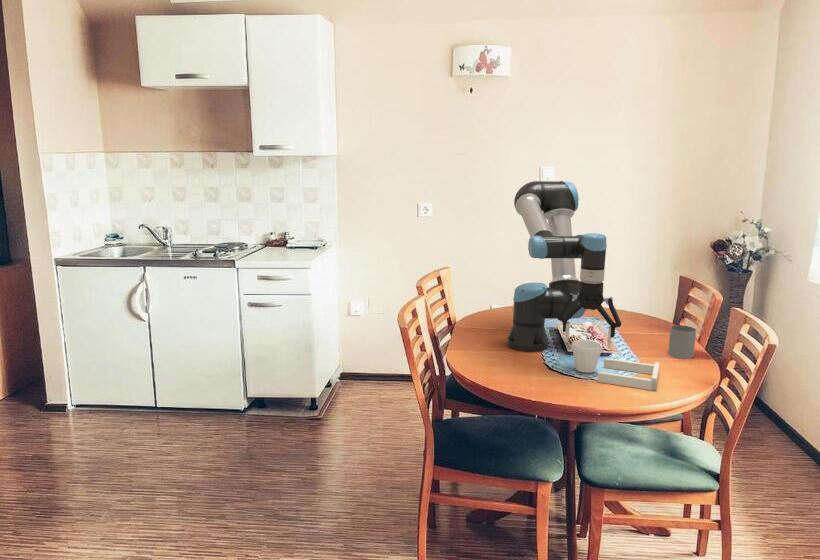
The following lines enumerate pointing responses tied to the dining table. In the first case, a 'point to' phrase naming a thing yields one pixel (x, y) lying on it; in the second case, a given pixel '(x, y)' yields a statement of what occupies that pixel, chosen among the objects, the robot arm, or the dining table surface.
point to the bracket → (630, 380)
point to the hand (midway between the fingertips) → (587, 344)
